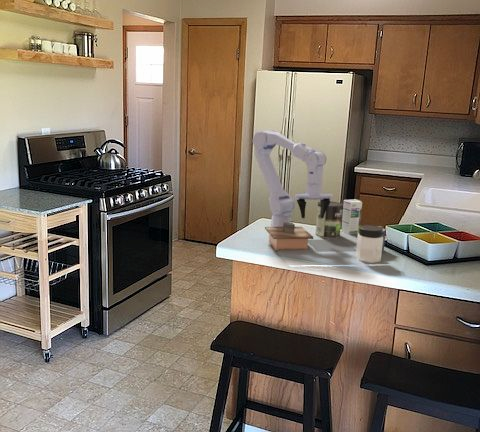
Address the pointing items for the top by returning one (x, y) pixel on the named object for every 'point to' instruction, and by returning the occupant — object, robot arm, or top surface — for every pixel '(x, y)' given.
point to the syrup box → (351, 216)
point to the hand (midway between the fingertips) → (312, 217)
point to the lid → (288, 232)
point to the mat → (330, 245)
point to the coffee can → (329, 221)
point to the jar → (369, 243)
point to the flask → (383, 237)
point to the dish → (288, 243)
